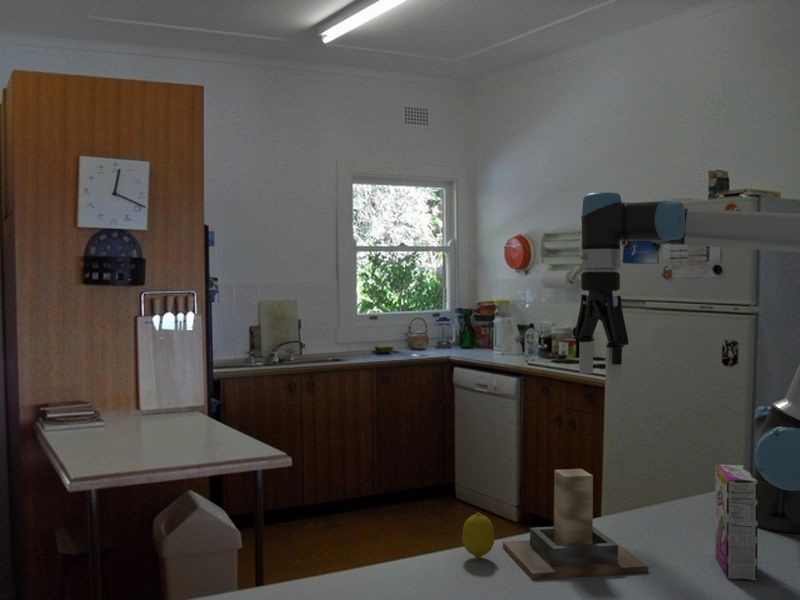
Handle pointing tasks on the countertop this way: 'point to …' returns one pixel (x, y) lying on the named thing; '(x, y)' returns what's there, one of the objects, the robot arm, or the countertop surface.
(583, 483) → the maple post
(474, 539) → the lemon
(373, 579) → the countertop surface
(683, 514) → the countertop surface
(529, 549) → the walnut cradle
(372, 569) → the countertop surface
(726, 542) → the candy bar box
